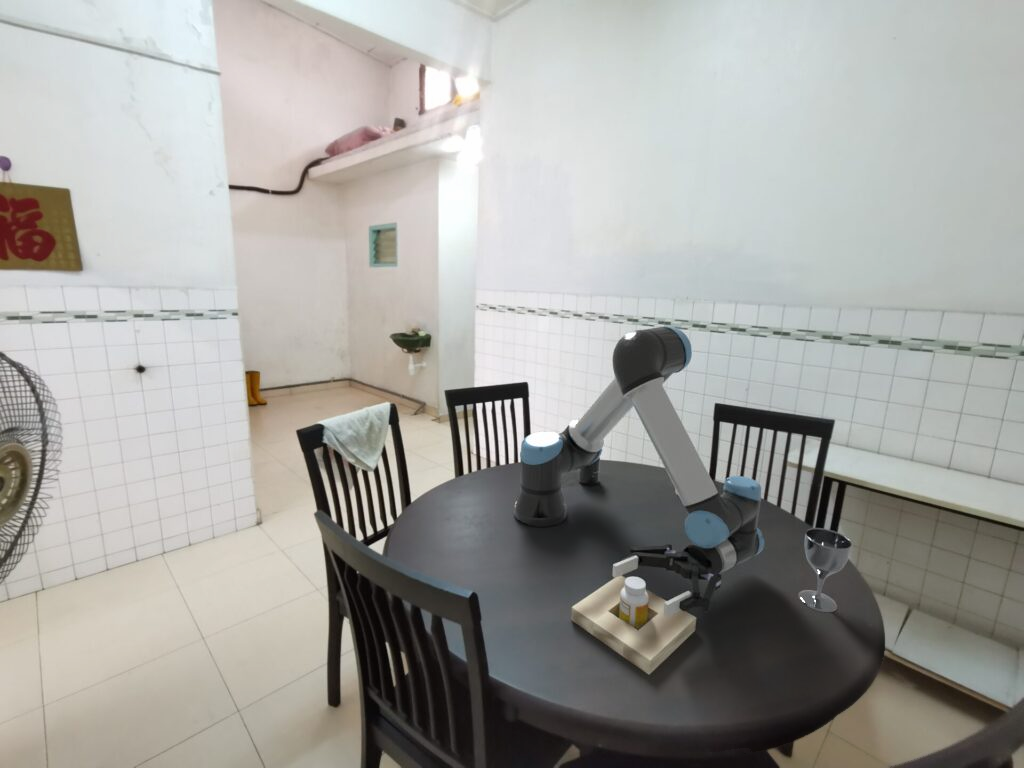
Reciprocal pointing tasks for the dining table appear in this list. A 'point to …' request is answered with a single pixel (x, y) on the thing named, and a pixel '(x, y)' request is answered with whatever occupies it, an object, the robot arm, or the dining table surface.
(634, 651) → the socket block
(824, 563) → the wine glass
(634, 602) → the supplement bottle
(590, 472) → the supplement bottle
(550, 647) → the dining table surface
